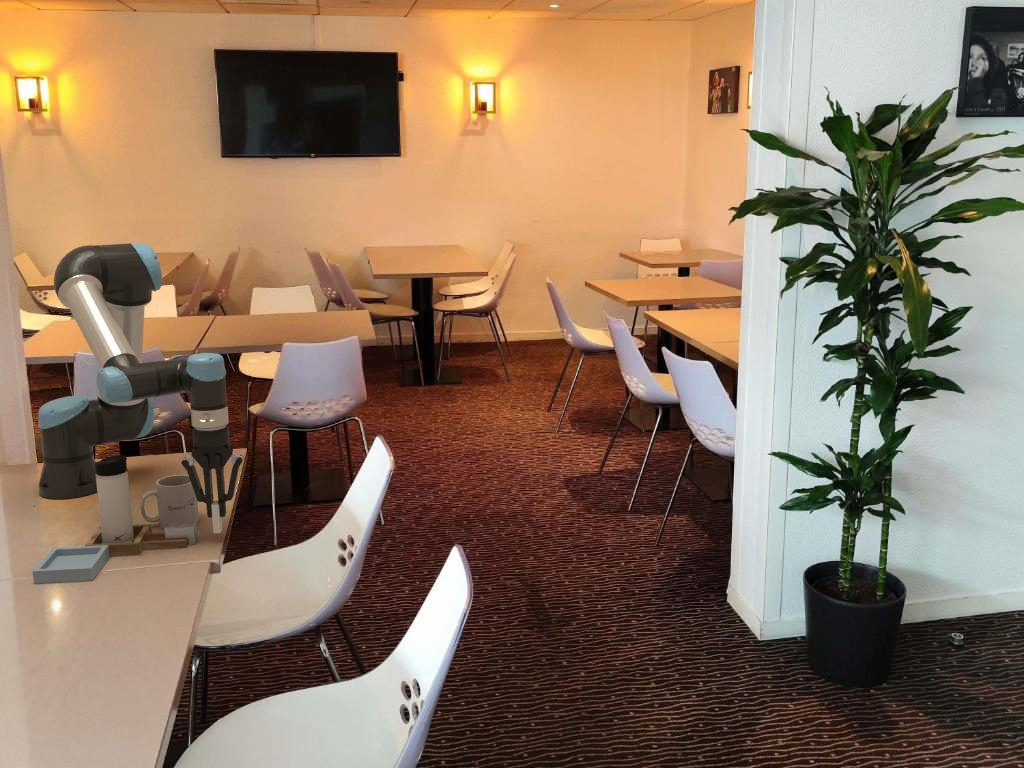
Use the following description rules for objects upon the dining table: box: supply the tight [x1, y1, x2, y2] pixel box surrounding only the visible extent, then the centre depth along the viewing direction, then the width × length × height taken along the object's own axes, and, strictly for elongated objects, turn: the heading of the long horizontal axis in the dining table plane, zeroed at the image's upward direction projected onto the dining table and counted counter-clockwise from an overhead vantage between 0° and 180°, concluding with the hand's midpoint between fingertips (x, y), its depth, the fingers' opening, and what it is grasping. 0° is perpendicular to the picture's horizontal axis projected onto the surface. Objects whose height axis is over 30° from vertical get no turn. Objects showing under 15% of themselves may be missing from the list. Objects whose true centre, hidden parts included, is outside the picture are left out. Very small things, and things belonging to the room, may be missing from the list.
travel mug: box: [95, 455, 135, 544], centre depth 203 cm, size 6×7×20 cm
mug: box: [139, 474, 200, 529], centre depth 218 cm, size 12×9×10 cm
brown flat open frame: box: [84, 523, 188, 558], centre depth 206 cm, size 12×20×2 cm, turn 98°
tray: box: [32, 545, 110, 585], centre depth 193 cm, size 12×11×3 cm
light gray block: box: [164, 522, 198, 546], centre depth 207 cm, size 3×6×4 cm, turn 98°
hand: (218, 530), depth 208 cm, fingers closed
